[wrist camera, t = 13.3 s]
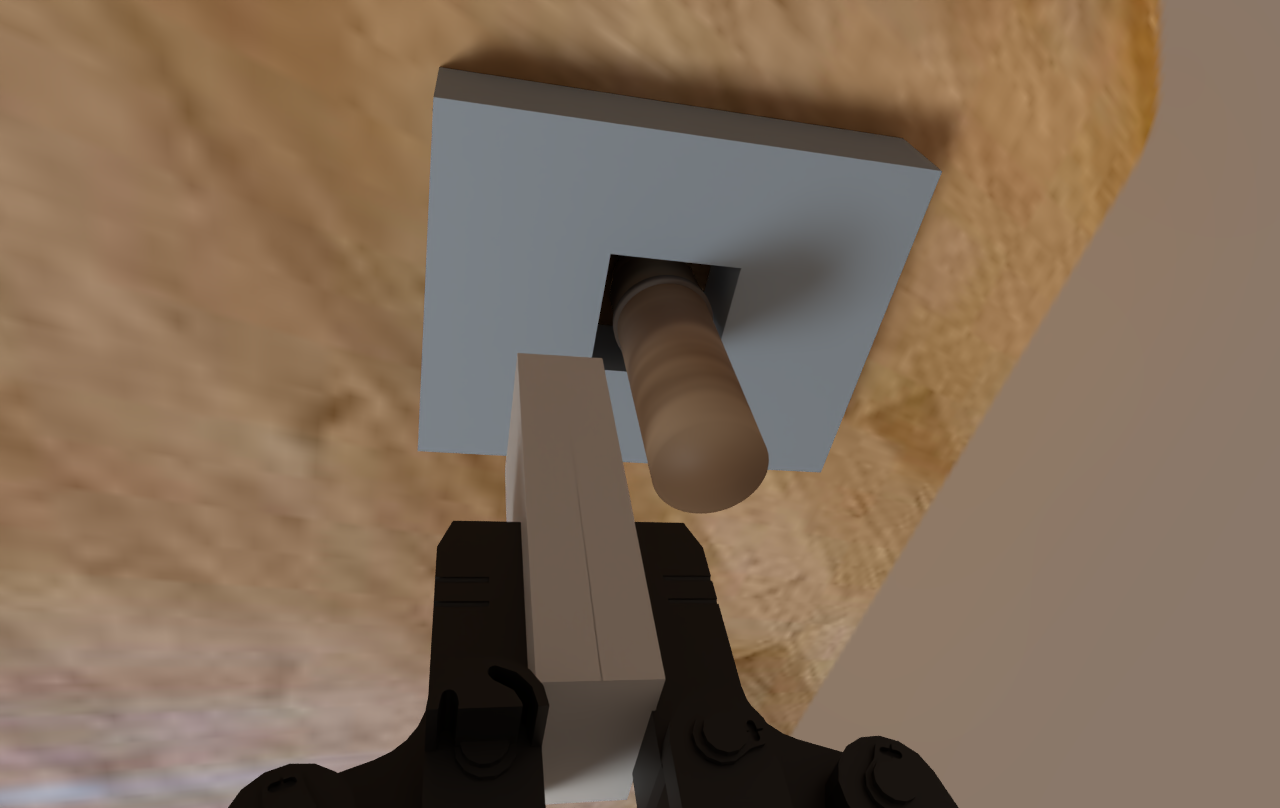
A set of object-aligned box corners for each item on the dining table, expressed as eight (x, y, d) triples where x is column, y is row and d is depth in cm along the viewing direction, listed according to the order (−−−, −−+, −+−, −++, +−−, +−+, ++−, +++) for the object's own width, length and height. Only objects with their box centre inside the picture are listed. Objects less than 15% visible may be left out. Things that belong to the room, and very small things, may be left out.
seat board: (439, 67, 32) (433, 97, 29) (903, 138, 37) (942, 171, 34) (423, 400, 41) (417, 450, 38) (797, 425, 46) (820, 472, 42)
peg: (610, 229, 37) (661, 413, 26) (702, 239, 38) (788, 422, 27) (596, 312, 40) (636, 514, 28) (682, 320, 41) (754, 518, 29)
